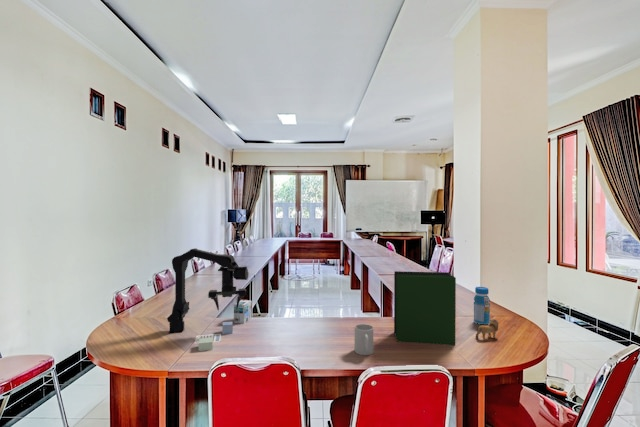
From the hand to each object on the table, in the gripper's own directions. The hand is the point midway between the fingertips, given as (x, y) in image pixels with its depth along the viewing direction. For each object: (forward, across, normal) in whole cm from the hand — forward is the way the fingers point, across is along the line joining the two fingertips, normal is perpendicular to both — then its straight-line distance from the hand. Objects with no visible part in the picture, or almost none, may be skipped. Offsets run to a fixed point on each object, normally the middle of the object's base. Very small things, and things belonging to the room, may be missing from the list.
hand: (227, 309), depth 174 cm
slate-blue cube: (+12, 0, 0) cm, 12 cm away
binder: (+12, +95, -30) cm, 100 cm away
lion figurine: (+12, +126, -37) cm, 132 cm away
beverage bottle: (+12, +140, -17) cm, 142 cm away
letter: (+12, -9, -7) cm, 17 cm away
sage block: (+12, -9, -18) cm, 24 cm away
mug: (+12, +60, -40) cm, 73 cm away
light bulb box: (+12, +8, +18) cm, 23 cm away
